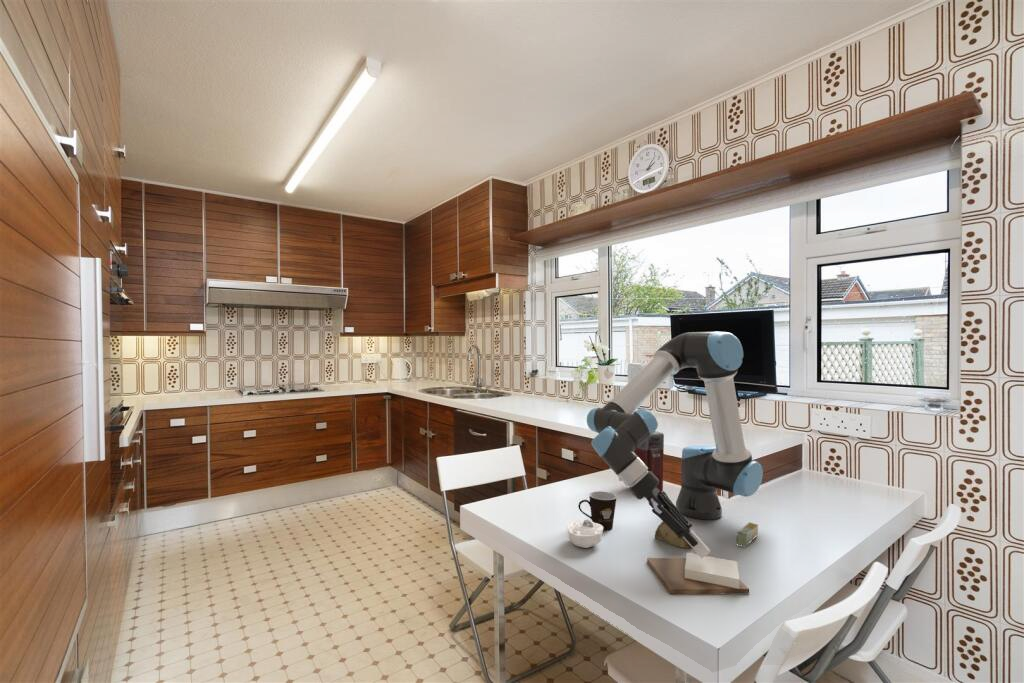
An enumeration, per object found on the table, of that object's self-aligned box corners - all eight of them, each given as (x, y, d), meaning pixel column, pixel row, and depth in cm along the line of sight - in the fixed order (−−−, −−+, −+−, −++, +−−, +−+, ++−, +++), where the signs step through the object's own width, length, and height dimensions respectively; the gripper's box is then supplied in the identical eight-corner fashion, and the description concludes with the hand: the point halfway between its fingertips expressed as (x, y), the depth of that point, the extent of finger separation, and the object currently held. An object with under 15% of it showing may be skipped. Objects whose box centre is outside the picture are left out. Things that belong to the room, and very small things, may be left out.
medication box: (745, 548, 136) (746, 534, 136) (735, 545, 138) (736, 532, 138) (757, 536, 145) (758, 523, 145) (748, 534, 147) (748, 521, 147)
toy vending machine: (649, 495, 183) (651, 423, 183) (630, 487, 193) (632, 419, 193) (667, 492, 187) (668, 422, 187) (647, 484, 197) (649, 418, 197)
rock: (644, 529, 143) (663, 538, 133) (658, 504, 145) (677, 511, 135) (670, 549, 144) (690, 559, 134) (683, 524, 146) (704, 532, 137)
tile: (684, 568, 115) (739, 579, 110) (686, 552, 124) (737, 561, 119) (684, 578, 115) (739, 589, 110) (686, 561, 124) (736, 571, 119)
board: (716, 562, 127) (716, 557, 127) (749, 593, 111) (749, 588, 111) (647, 562, 126) (647, 557, 126) (670, 594, 110) (670, 589, 110)
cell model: (558, 546, 135) (558, 522, 135) (581, 534, 144) (582, 512, 144) (588, 557, 128) (589, 532, 128) (610, 544, 137) (611, 520, 137)
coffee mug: (616, 523, 153) (617, 492, 153) (615, 533, 144) (615, 501, 145) (580, 519, 156) (581, 489, 156) (577, 528, 148) (578, 497, 148)
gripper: (632, 481, 131) (695, 552, 125) (624, 494, 119) (693, 574, 113) (652, 464, 129) (717, 536, 123) (646, 476, 117) (717, 556, 111)
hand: (705, 554), depth 118 cm, fingers closed
